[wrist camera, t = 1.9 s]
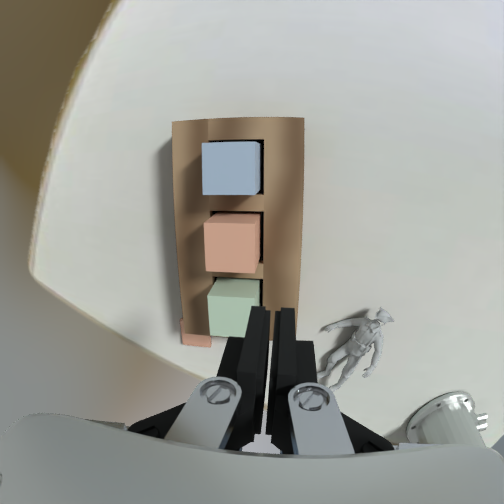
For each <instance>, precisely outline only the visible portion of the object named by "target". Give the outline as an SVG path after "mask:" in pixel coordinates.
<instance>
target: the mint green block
mask: <svg viewBox="0 0 504 504" xmlns="http://www.w3.org/2000/svg"><path fill="white" fill-rule="evenodd" d="M207 298H208V313H209V327H210V335H211V336H222V337H229V336H233V337H245V333H246V329H247V324H248V320H249V315H250V310H251V306H261V279H254V278H233V277H218V278H217V280H216V282H215V283H214V285H213V287H212V288H211V290H210V292H209V294H208V295H207Z"/></svg>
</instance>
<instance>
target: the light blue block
mask: <svg viewBox="0 0 504 504" xmlns="http://www.w3.org/2000/svg"><path fill="white" fill-rule="evenodd" d="M261 185H262V144H259V143H257V142H213V143H202V186H203V195H256V193H257V192H258V191H259V190H260V189H261Z"/></svg>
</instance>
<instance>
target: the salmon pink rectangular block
mask: <svg viewBox="0 0 504 504" xmlns="http://www.w3.org/2000/svg"><path fill="white" fill-rule="evenodd" d="M204 244H205V264H206V271H212V272H233V273H255V271H256V268H257V265H258V262H259V259H260V255H261V212H244V211H218V212H217V213H216V214H214V215H213V216H212V217H211V218H209V219H208V220H207V221H205V222H204Z"/></svg>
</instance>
